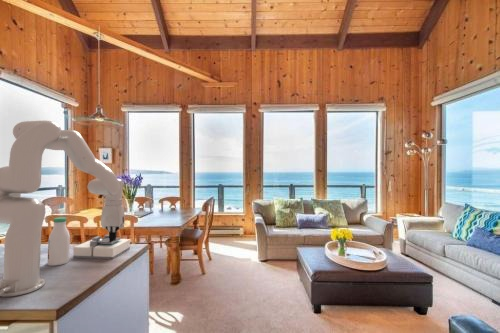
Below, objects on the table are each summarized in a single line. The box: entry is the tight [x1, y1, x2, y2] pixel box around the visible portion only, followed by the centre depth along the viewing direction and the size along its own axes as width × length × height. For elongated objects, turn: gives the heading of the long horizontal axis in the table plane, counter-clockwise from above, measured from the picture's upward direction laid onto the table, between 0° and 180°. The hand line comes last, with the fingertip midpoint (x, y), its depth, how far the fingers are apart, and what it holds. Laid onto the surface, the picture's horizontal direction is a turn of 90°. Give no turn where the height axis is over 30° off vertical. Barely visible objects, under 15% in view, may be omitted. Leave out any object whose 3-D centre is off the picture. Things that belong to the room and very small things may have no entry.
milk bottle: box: [47, 216, 71, 267], centre depth 113 cm, size 8×8×20 cm
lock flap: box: [97, 237, 121, 244], centre depth 127 cm, size 9×9×2 cm
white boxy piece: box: [72, 234, 131, 260], centre depth 127 cm, size 16×19×8 cm
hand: (112, 239), depth 128 cm, fingers closed
